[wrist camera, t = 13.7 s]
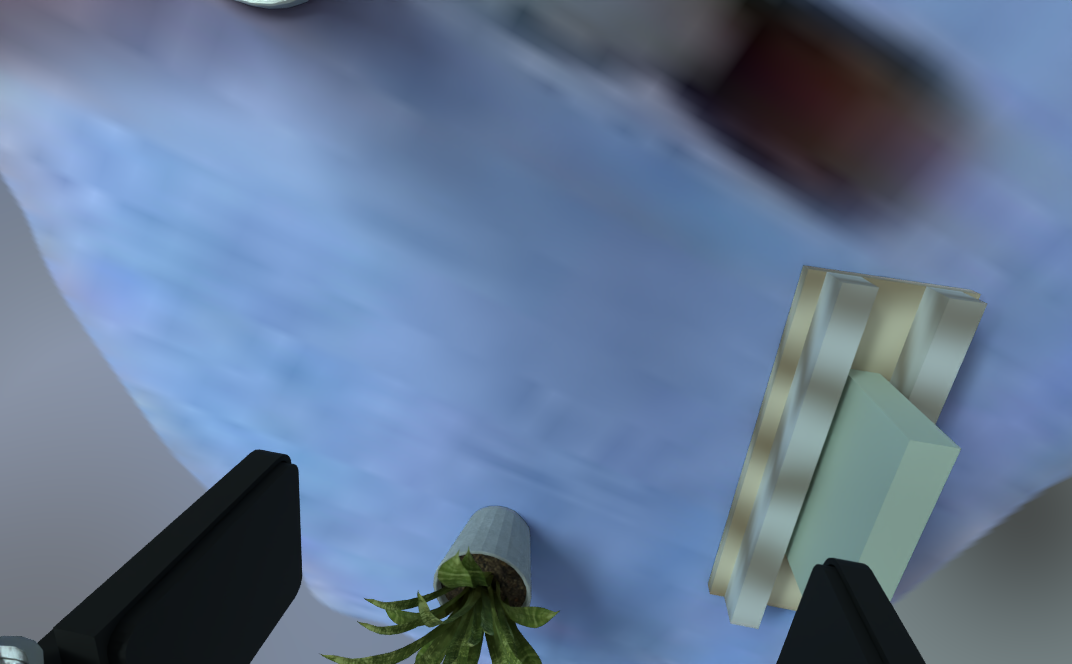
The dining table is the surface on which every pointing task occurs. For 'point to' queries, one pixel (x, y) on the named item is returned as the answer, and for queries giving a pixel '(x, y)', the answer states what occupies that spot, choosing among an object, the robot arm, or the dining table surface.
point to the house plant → (472, 599)
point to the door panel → (871, 483)
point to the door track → (781, 373)
